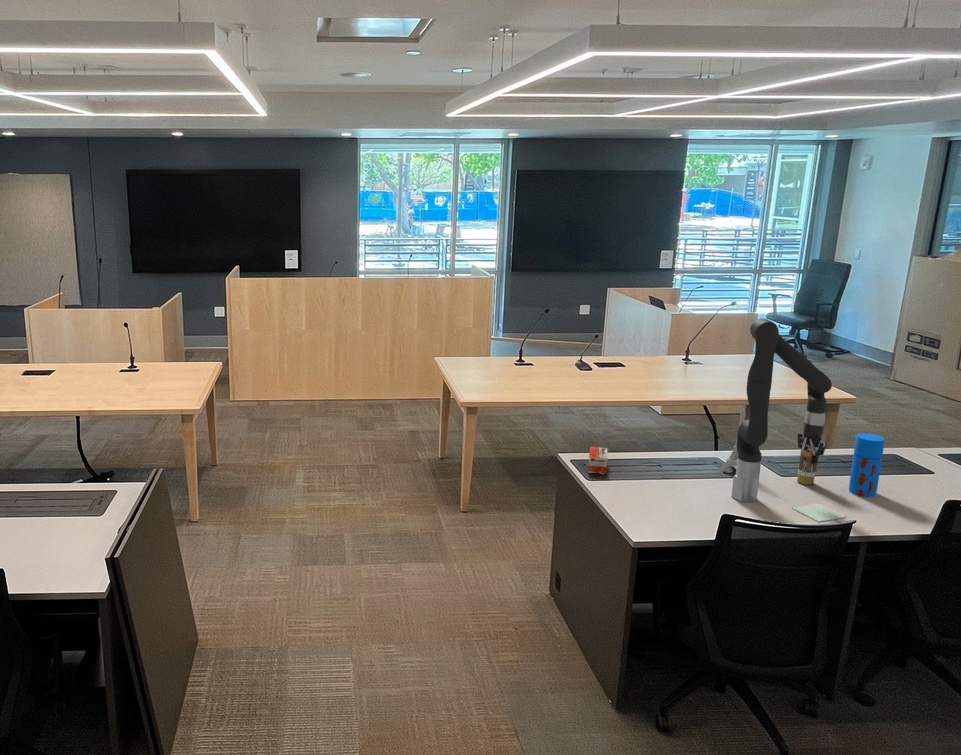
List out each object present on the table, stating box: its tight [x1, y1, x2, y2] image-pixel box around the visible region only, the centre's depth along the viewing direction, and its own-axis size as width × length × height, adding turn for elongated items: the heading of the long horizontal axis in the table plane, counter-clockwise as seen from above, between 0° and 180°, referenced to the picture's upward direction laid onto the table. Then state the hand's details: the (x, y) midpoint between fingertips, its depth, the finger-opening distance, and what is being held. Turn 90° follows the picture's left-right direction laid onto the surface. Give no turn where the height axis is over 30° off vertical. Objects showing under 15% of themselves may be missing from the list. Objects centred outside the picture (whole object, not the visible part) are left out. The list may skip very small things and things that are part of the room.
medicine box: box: [588, 446, 608, 474], centre depth 346 cm, size 15×8×8 cm, turn 171°
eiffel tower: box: [716, 408, 747, 474], centre depth 344 cm, size 13×13×30 cm
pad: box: [791, 503, 847, 523], centre depth 303 cm, size 14×14×1 cm
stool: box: [798, 449, 820, 473], centre depth 311 cm, size 5×5×8 cm
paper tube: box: [797, 432, 816, 486], centre depth 332 cm, size 7×7×25 cm
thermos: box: [848, 432, 885, 498], centre depth 322 cm, size 11×11×25 cm
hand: (808, 461), depth 311 cm, fingers closed on stool, 5 cm apart
